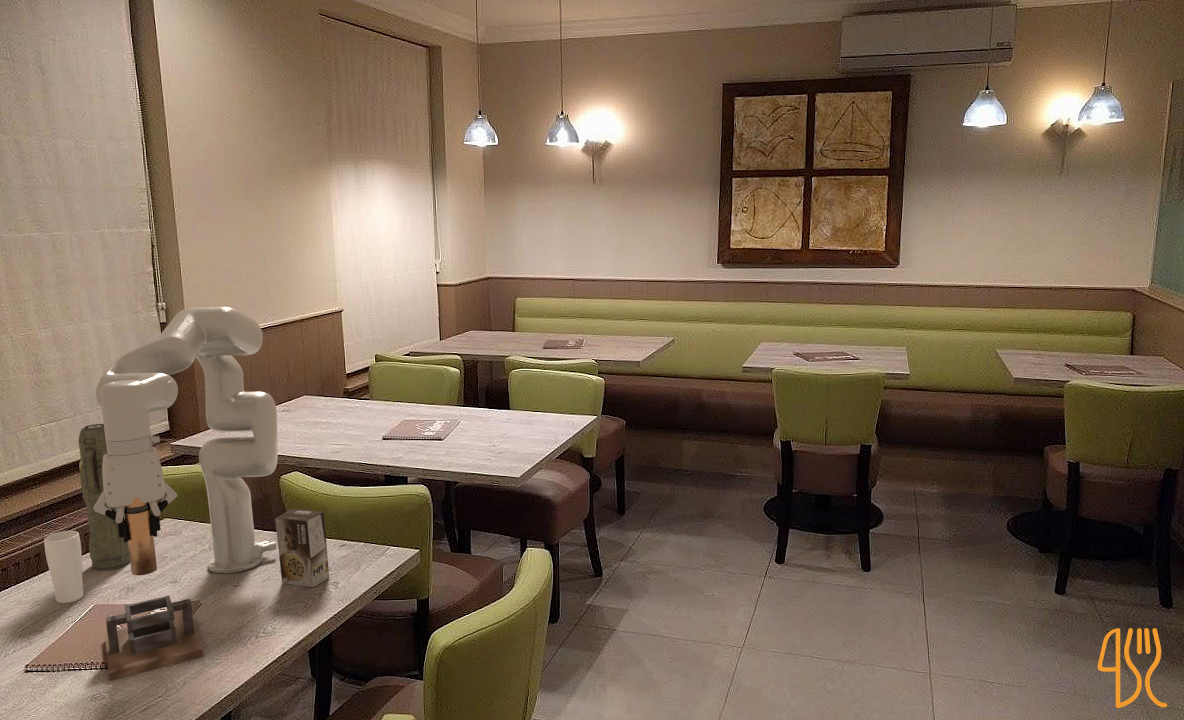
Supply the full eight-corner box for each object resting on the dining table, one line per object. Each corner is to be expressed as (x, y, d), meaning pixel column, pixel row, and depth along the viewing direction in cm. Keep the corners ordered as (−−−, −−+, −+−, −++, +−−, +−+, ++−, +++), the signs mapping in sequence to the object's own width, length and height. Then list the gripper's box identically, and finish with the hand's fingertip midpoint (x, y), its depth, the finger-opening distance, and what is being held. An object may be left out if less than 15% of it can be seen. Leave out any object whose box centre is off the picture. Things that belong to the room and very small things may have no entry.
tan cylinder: (156, 564, 169) (147, 486, 167) (158, 572, 166) (149, 492, 163) (130, 569, 167) (120, 490, 164) (132, 577, 163) (122, 497, 161)
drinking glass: (71, 607, 188) (62, 542, 186) (45, 605, 190) (36, 540, 187) (94, 593, 195) (86, 531, 192) (69, 591, 196) (60, 529, 194)
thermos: (84, 575, 205) (66, 433, 200) (99, 556, 217) (82, 422, 211) (125, 570, 208) (108, 430, 202) (137, 552, 219) (121, 419, 213)
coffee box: (330, 576, 201) (325, 511, 198) (313, 588, 195) (307, 520, 192) (298, 572, 204) (292, 507, 201) (280, 583, 198) (274, 516, 195)
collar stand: (192, 619, 181) (187, 582, 179) (203, 655, 166) (199, 614, 164) (105, 640, 173) (100, 601, 171) (109, 680, 157) (103, 637, 156)
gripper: (176, 435, 170) (186, 522, 173) (77, 448, 161) (89, 541, 164) (180, 443, 163) (190, 534, 166) (78, 457, 155) (90, 553, 158)
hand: (140, 536), depth 165 cm, fingers closed on tan cylinder, 4 cm apart
